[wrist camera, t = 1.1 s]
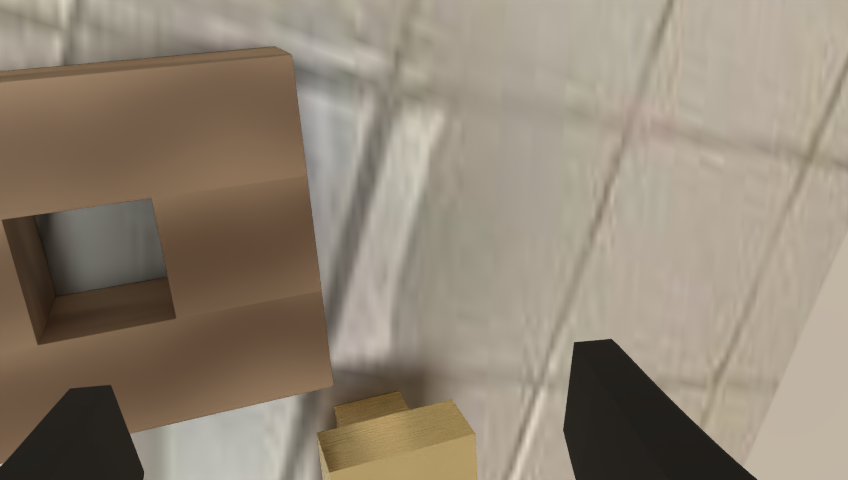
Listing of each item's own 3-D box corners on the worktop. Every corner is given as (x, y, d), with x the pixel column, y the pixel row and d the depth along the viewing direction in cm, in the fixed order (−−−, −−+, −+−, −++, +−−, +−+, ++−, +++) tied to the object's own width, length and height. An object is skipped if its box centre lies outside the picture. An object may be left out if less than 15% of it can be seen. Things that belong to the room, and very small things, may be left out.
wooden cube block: (431, 461, 34) (480, 549, 28) (316, 493, 32) (345, 592, 27) (424, 359, 32) (475, 433, 26) (301, 388, 30) (329, 472, 25)
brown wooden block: (313, 339, 30) (333, 386, 26) (-64, 418, 26) (-102, 487, 22) (274, 46, 26) (291, 54, 22) (-184, 88, 22) (-254, 106, 18)
